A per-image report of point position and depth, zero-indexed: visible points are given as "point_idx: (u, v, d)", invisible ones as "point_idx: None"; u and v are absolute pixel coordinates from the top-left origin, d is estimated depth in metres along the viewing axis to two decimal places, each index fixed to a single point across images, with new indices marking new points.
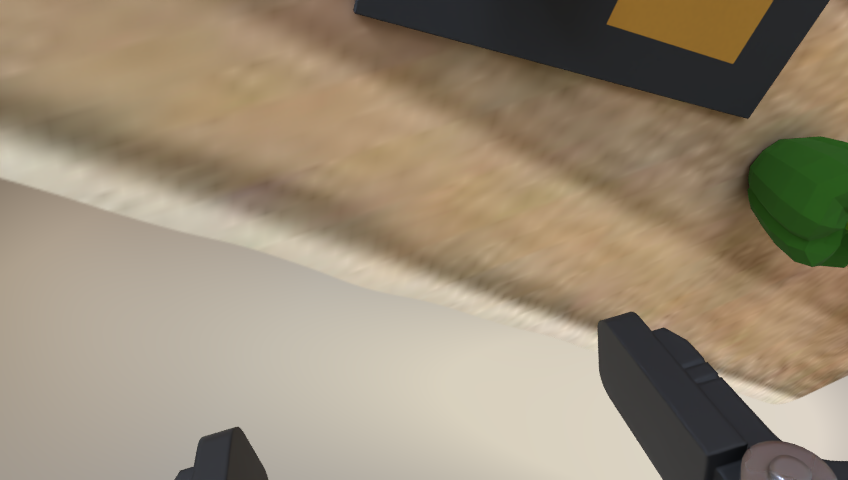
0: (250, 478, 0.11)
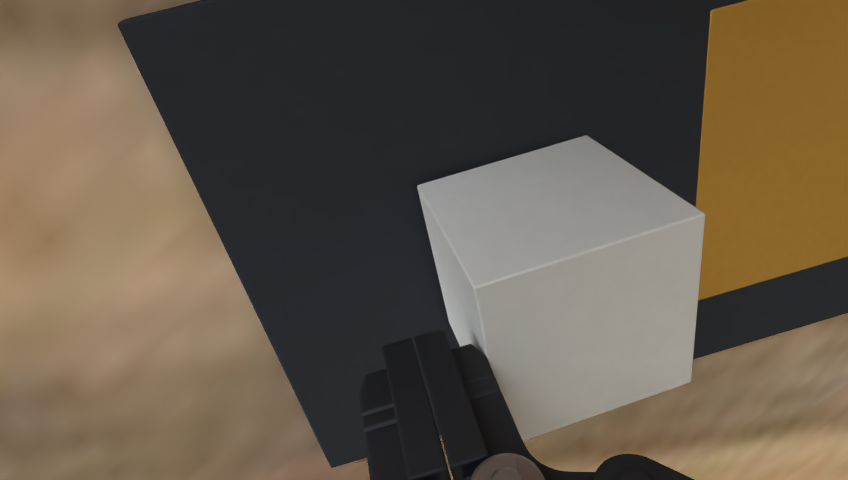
0: None
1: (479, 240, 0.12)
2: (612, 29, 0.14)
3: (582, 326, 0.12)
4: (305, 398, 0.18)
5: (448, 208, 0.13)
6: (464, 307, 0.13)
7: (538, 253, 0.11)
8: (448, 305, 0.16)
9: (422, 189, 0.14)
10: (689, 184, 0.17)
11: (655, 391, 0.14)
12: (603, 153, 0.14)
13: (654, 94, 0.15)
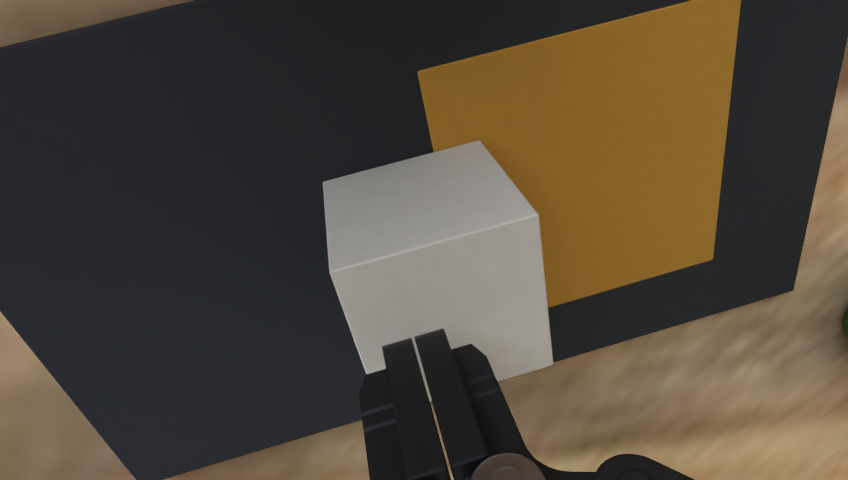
0: (424, 384, 0.12)
1: (469, 218, 0.13)
2: (322, 89, 0.15)
3: None
4: (97, 421, 0.19)
5: (401, 242, 0.13)
6: (486, 287, 0.13)
7: (501, 190, 0.14)
8: None
9: (344, 265, 0.12)
10: None
11: None
12: (366, 172, 0.16)
13: (381, 145, 0.16)
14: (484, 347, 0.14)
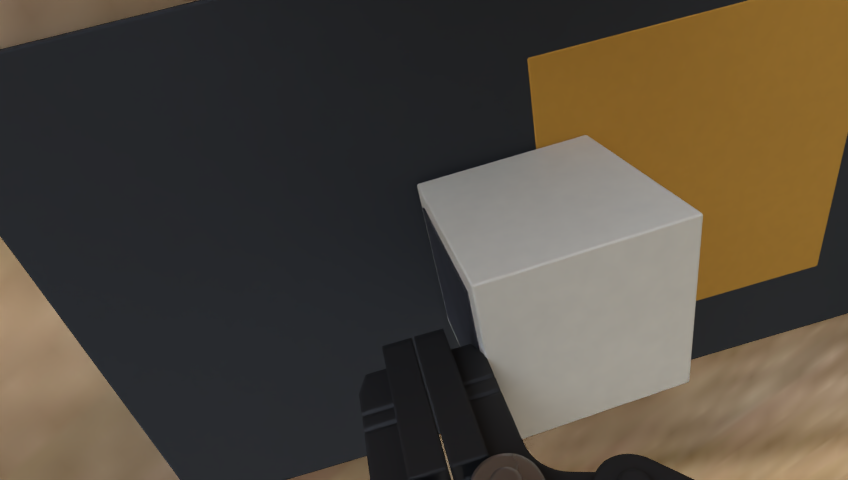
0: None
1: (619, 220, 0.11)
2: (424, 78, 0.14)
3: None
4: (157, 438, 0.18)
5: (546, 249, 0.11)
6: (635, 298, 0.12)
7: (643, 188, 0.12)
8: (529, 399, 0.13)
9: (487, 278, 0.11)
10: None
11: None
12: (466, 173, 0.15)
13: (481, 140, 0.15)
14: (622, 365, 0.13)
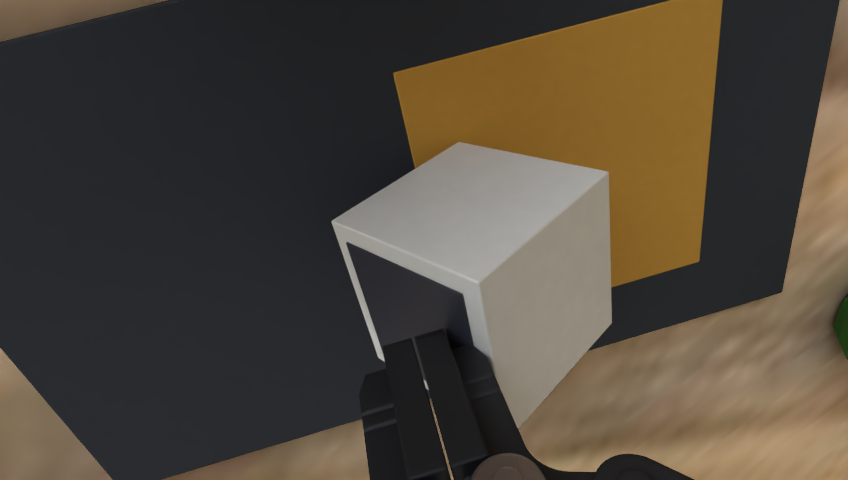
0: None
1: (552, 194, 0.13)
2: (296, 91, 0.15)
3: None
4: (75, 427, 0.19)
5: (515, 232, 0.12)
6: (579, 258, 0.13)
7: (546, 167, 0.14)
8: (522, 383, 0.13)
9: (487, 271, 0.11)
10: None
11: None
12: (375, 198, 0.15)
13: (358, 147, 0.16)
14: (575, 323, 0.14)
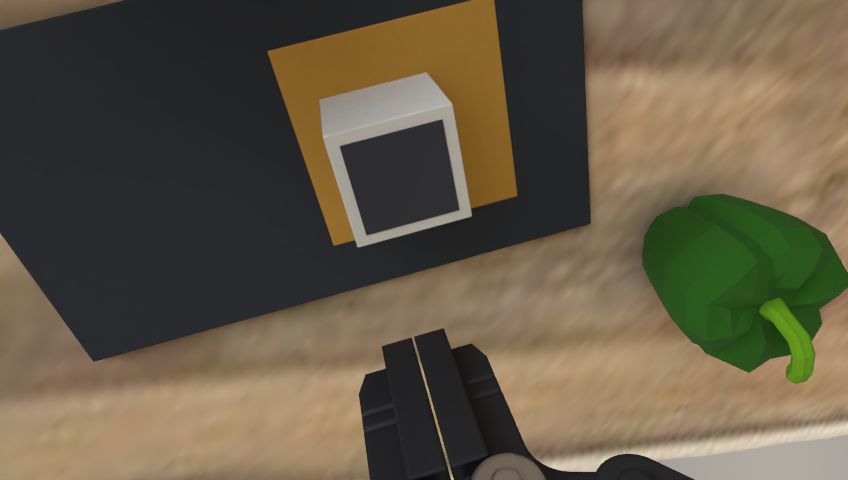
0: (424, 384, 0.12)
1: (419, 83, 0.23)
2: (202, 63, 0.23)
3: None
4: (58, 305, 0.27)
5: (432, 93, 0.22)
6: None
7: (395, 82, 0.24)
8: None
9: (448, 100, 0.21)
10: (298, 161, 0.26)
11: None
12: (327, 123, 0.21)
13: (248, 102, 0.24)
14: None
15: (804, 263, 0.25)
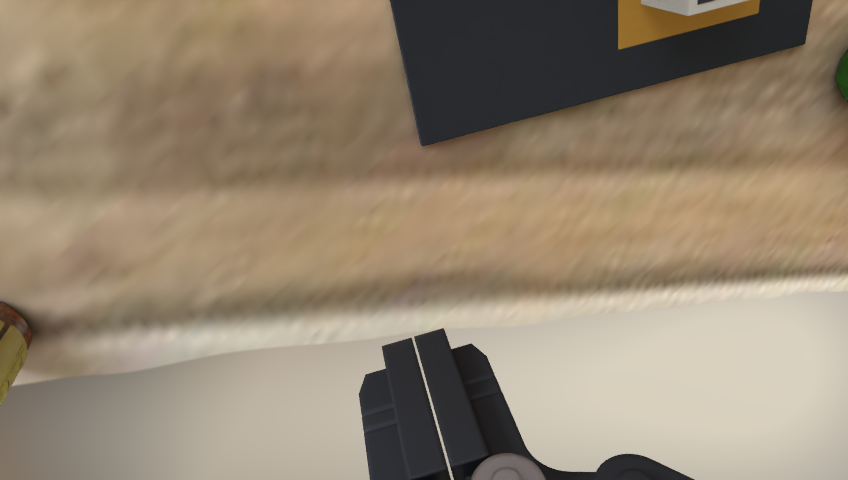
0: (424, 384, 0.12)
1: None
2: None
3: None
4: (414, 90, 0.34)
5: None
6: None
7: None
8: None
9: None
10: None
11: None
12: None
13: None
14: None
15: None
